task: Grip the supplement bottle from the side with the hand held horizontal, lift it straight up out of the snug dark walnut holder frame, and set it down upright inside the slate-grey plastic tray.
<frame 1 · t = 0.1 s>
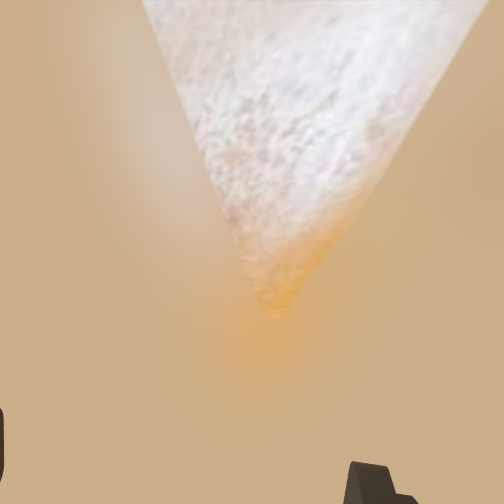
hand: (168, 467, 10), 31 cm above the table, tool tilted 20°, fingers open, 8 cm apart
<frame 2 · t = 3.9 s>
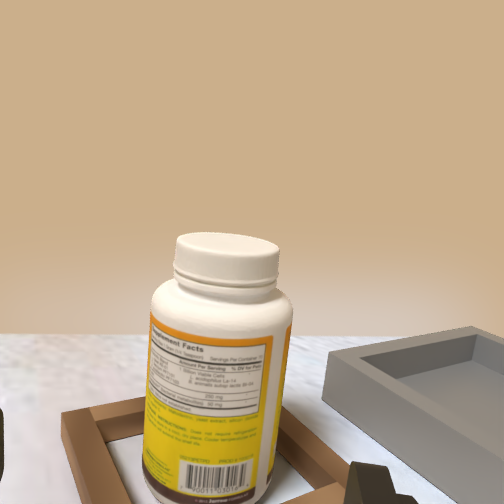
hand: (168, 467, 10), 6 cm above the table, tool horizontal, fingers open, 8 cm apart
holder frame: (206, 474, 19), on the table
tray: (503, 438, 25), on the table
supplement bottle: (206, 479, 19), resting in holder frame
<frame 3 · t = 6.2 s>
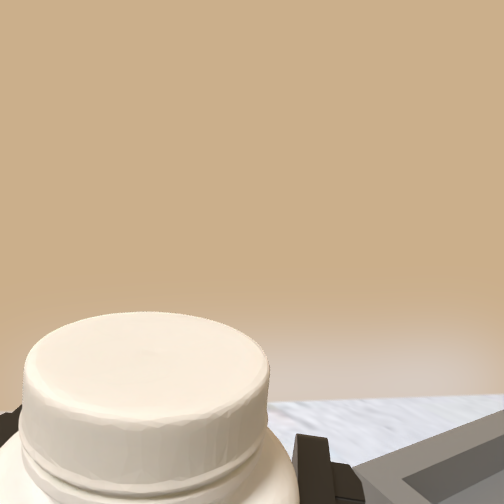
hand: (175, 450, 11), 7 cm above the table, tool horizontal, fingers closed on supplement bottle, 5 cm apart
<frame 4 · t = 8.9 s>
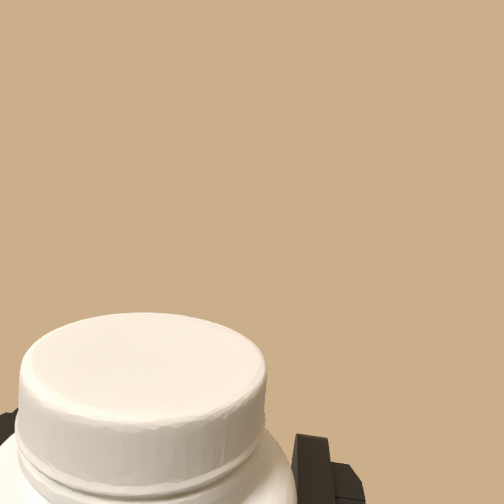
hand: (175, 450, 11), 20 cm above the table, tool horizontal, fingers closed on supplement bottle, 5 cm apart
when the fingers open (9 cm above the table, at t = 12.0 s): supplement bottle drops 1 cm, resting on tray.
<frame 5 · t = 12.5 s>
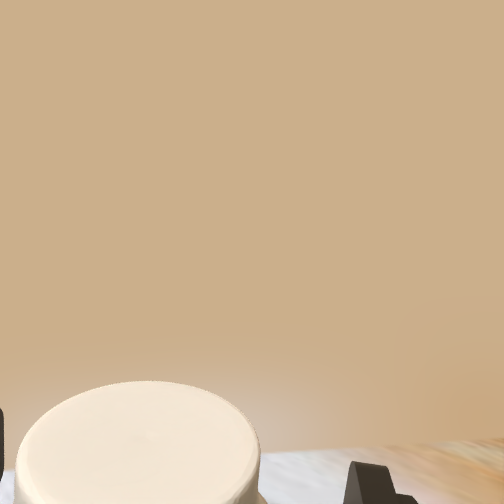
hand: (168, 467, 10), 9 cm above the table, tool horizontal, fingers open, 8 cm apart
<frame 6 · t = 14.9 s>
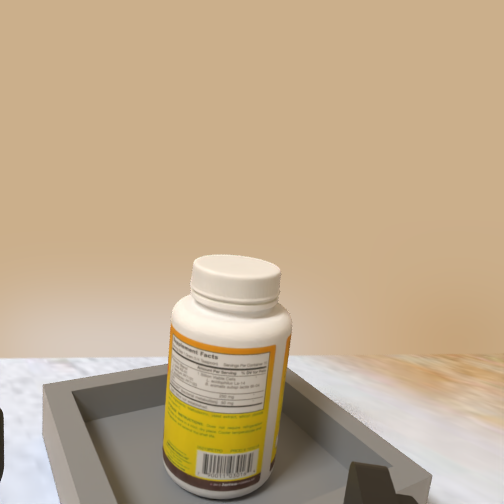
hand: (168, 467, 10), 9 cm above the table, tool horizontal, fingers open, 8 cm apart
tray: (214, 479, 23), on the table
supplement bottle: (217, 467, 22), point 1 cm above the table, touching tray
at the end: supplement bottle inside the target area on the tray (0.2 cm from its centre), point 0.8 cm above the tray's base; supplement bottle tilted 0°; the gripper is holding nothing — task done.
